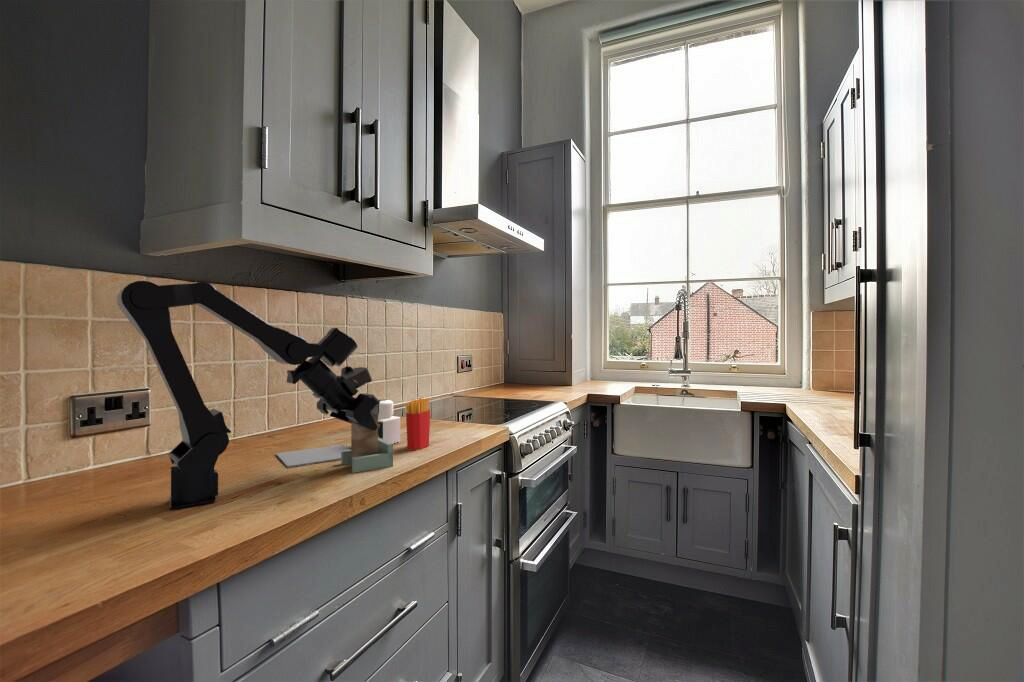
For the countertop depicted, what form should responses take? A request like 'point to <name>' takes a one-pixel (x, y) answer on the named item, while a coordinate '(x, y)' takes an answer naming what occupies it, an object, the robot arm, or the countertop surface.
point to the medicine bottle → (388, 422)
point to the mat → (311, 455)
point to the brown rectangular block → (364, 438)
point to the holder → (370, 458)
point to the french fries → (418, 424)
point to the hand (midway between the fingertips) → (370, 427)
